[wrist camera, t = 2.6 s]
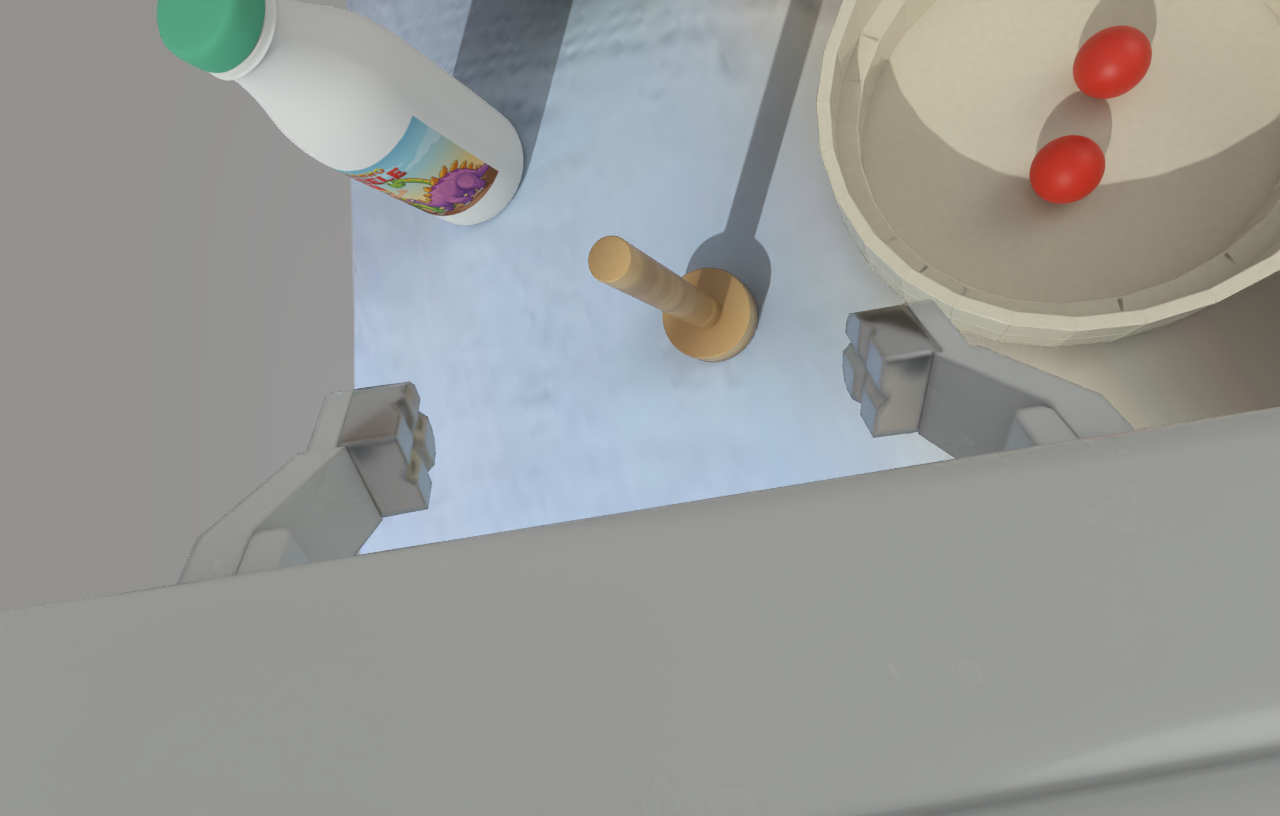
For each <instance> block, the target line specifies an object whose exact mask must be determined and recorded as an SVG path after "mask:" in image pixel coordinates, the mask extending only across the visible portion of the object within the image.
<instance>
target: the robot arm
mask: <svg viewBox="0 0 1280 816" xmlns="http://www.w3.org/2000/svg"><path fill="white" fill-rule="evenodd" d="M845 332H846V334H847V336H848V338H849V339H850V341H851V343H850V344H849V345H848V347H847V348H846V349H845V350H844V351H843V374H844V381H845V384H846V387H847V390H848V392H849V394H850V396H851V398H852V399H853V400H855V401H857V402H859V403H861V413H860V415H861V416H862V418H863V420H864V422H865V424H866V426H867V427H868V429H869V431H870V433H871V435H872V436H873V438H875V437H883V436H890V435H898V434H905V433H913V432H918V434H919V435H921V436H922V437H924V438H925V439H927V440H928V441H930V442H931V443H933V444H935V445H936V446H938V447H939V448H941V449H942V450H944V451H945V452H947V453H948V454H950V455H951V456H953V457H954V458H956V459H951V460H945V461H939V462H932V463H926V464H920V465H914V466H908V467H901V468H895V469H889V470H883V471H877V472H870V473H864V474H858V475H852V476H846V477H839V478H833V479H827V480H821V481H815V482H808V483H802V484H796V485H790V486H784V487H777V488H771V489H765V490H759V491H753V492H746V493H740V494H734V495H728V496H722V497H715V498H709V499H703V500H697V501H691V502H684V503H678V504H672V505H666V506H659V507H653V508H647V509H641V510H635V511H628V512H622V513H616V514H610V515H604V516H597V517H591V518H585V519H579V520H572V521H566V522H560V523H554V524H548V525H541V526H535V527H529V528H523V529H517V530H510V531H504V532H498V533H492V534H485V535H479V536H473V537H467V538H461V539H454V540H448V541H442V542H436V543H429V544H423V545H417V546H411V547H405V548H398V549H392V550H386V551H380V552H374V553H367V554H361V555H356V554H357V552H358V551H359V550H360V548H361V547H362V546H363V545H364V543H365V542H366V541H367V539H368V538H369V537H370V536H371V534H372V533H373V532H374V530H375V529H376V528H377V527H378V525H379V524H380V523H381V521H382V518H383V517H388V516H393V515H399V514H404V513H409V512H415V511H420V510H425V509H428V506H429V499H430V492H431V485H432V482H431V479H430V477H429V474H428V471H429V470H430V469H431V468H432V467H433V466H434V463H435V455H436V452H435V439H434V435H433V431H432V427H431V424H430V422H429V419H428V417H427V416H425V415H424V414H422V413H421V412H419V405H420V397H419V394H418V392H417V390H416V388H415V385H414V384H412V383H411V382H403V383H396V384H388V385H381V386H373V387H366V388H359V389H352V390H345V391H339V392H333V393H329V394H328V395H327V396H326V397H325V398H324V401H323V404H322V407H321V410H320V413H319V416H318V419H317V422H316V424H315V428H314V430H313V433H312V436H311V439H310V442H309V445H308V448H307V451H306V452H303V453H298V454H297V455H295V456H294V457H293V458H292V459H291V460H290V461H288V462H287V463H286V464H285V465H284V466H282V467H281V468H280V469H279V470H278V471H276V472H275V473H274V474H273V475H272V476H271V477H269V478H268V479H267V480H266V481H265V482H264V483H262V484H261V485H260V486H259V487H257V488H256V489H255V490H254V491H253V492H252V493H250V494H249V495H248V496H247V497H246V498H245V499H243V500H242V501H241V502H240V503H238V504H237V505H236V506H235V507H234V508H233V509H231V510H230V511H229V512H228V513H227V514H225V515H224V516H223V517H222V518H221V519H220V520H218V521H217V522H216V523H215V524H214V525H212V526H211V527H210V528H209V529H208V530H206V531H205V532H204V533H203V534H202V535H200V536H199V537H198V538H197V539H196V541H195V544H194V546H193V548H192V550H191V553H190V556H189V557H188V559H187V562H186V564H185V566H184V568H183V570H182V573H181V575H180V577H179V579H178V582H177V584H176V585H169V586H162V587H156V588H151V589H144V590H138V591H132V592H125V593H119V594H113V595H107V596H101V597H95V598H88V599H82V600H76V601H69V602H63V603H57V604H51V605H45V606H38V607H33V608H26V609H20V610H14V611H8V612H1V613H0V816H1280V406H1279V407H1273V408H1267V409H1261V410H1255V411H1249V412H1242V413H1236V414H1230V415H1224V416H1218V417H1212V418H1206V419H1200V420H1193V421H1187V422H1181V423H1175V424H1169V425H1162V426H1156V427H1150V428H1144V429H1138V430H1135V428H1134V427H1133V426H1132V425H1131V424H1130V423H1129V422H1128V421H1127V420H1126V419H1125V418H1124V417H1123V416H1122V415H1121V414H1120V413H1119V412H1118V411H1117V410H1116V409H1115V408H1114V406H1113V405H1112V404H1111V403H1110V402H1109V401H1108V400H1107V399H1106V398H1105V397H1104V396H1103V395H1102V394H1100V393H1097V392H1094V391H1092V390H1089V389H1087V388H1084V387H1082V386H1079V385H1077V384H1074V383H1072V382H1069V381H1067V380H1064V379H1062V378H1059V377H1057V376H1054V375H1052V374H1049V373H1047V372H1044V371H1042V370H1039V369H1037V368H1034V367H1032V366H1029V365H1026V364H1024V363H1021V362H1019V361H1016V360H1014V359H1011V358H1009V357H1006V356H1004V355H1001V354H999V353H996V352H994V351H991V350H989V349H986V348H984V347H981V346H974V347H971V346H970V345H969V343H968V342H967V341H966V340H965V338H964V337H963V336H962V335H961V334H960V332H959V331H958V330H957V329H956V328H955V326H954V325H953V324H952V323H951V321H950V320H949V319H948V318H947V317H946V315H945V314H944V313H943V312H942V310H941V309H940V308H939V307H938V306H937V304H936V303H935V302H934V301H932V300H930V299H926V300H921V301H915V302H910V303H905V304H902V305H897V306H891V307H885V308H879V309H873V310H867V311H861V312H855V313H849V316H848V318H847V322H846V331H845Z"/></svg>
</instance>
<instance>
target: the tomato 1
mask: <svg viewBox="0 0 1280 816" xmlns="http://www.w3.org/2000/svg"><path fill="white" fill-rule="evenodd" d="M1104 172H1105V157H1104V154H1103V151H1102V150H1101V148H1100V147H1099V145H1098V144H1097V143H1095V142H1094V141H1093V140H1091V139H1089V138H1087V137H1084V136H1080V135H1067V136H1062V137H1059V138H1056V139H1054V140H1052V141H1050V142H1049V143H1047V144H1046V145H1045V146H1043V147H1042V148H1041V149H1040V150H1039V152H1038V153H1037V154H1036V156H1035V157H1034V159H1033V161H1032V164H1031V167H1030V174H1029V177H1030V182H1031V186H1032V188H1033V190H1034V191H1035V192H1036V194H1037V195H1038V196H1040V197H1041V198H1042V199H1044V200H1046V201H1048V202H1051V203H1056V204H1067V203H1072V202H1076V201H1078V200H1080V199H1082V198H1084V197H1086V196H1087V195H1089V194H1090V193H1091V192H1092V191H1093V190H1094V189H1095V188H1096V187H1097V186H1098V185H1099V183H1100V181H1101V179H1102V177H1103V175H1104Z"/></svg>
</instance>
